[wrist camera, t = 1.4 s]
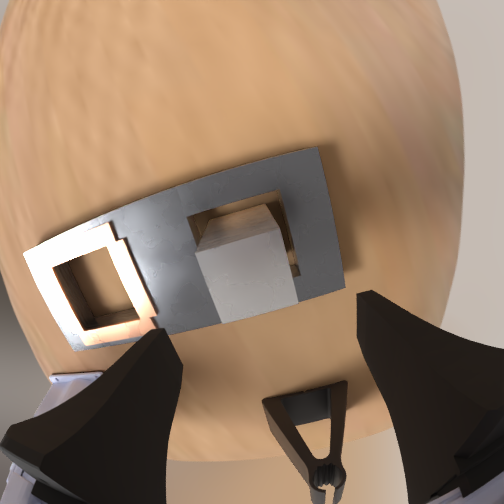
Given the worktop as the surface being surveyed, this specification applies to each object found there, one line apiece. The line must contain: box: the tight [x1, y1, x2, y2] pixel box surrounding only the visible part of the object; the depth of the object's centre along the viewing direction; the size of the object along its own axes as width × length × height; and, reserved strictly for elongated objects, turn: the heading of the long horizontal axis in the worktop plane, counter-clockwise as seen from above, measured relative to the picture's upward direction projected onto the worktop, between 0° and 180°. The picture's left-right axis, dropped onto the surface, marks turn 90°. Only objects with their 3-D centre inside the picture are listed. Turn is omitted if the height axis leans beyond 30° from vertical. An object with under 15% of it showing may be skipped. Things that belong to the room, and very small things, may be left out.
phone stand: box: [262, 381, 348, 504], centre depth 21 cm, size 9×6×12 cm, turn 101°
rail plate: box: [24, 147, 346, 351], centre depth 19 cm, size 24×10×2 cm, turn 106°
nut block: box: [195, 204, 299, 324], centre depth 16 cm, size 4×4×7 cm
